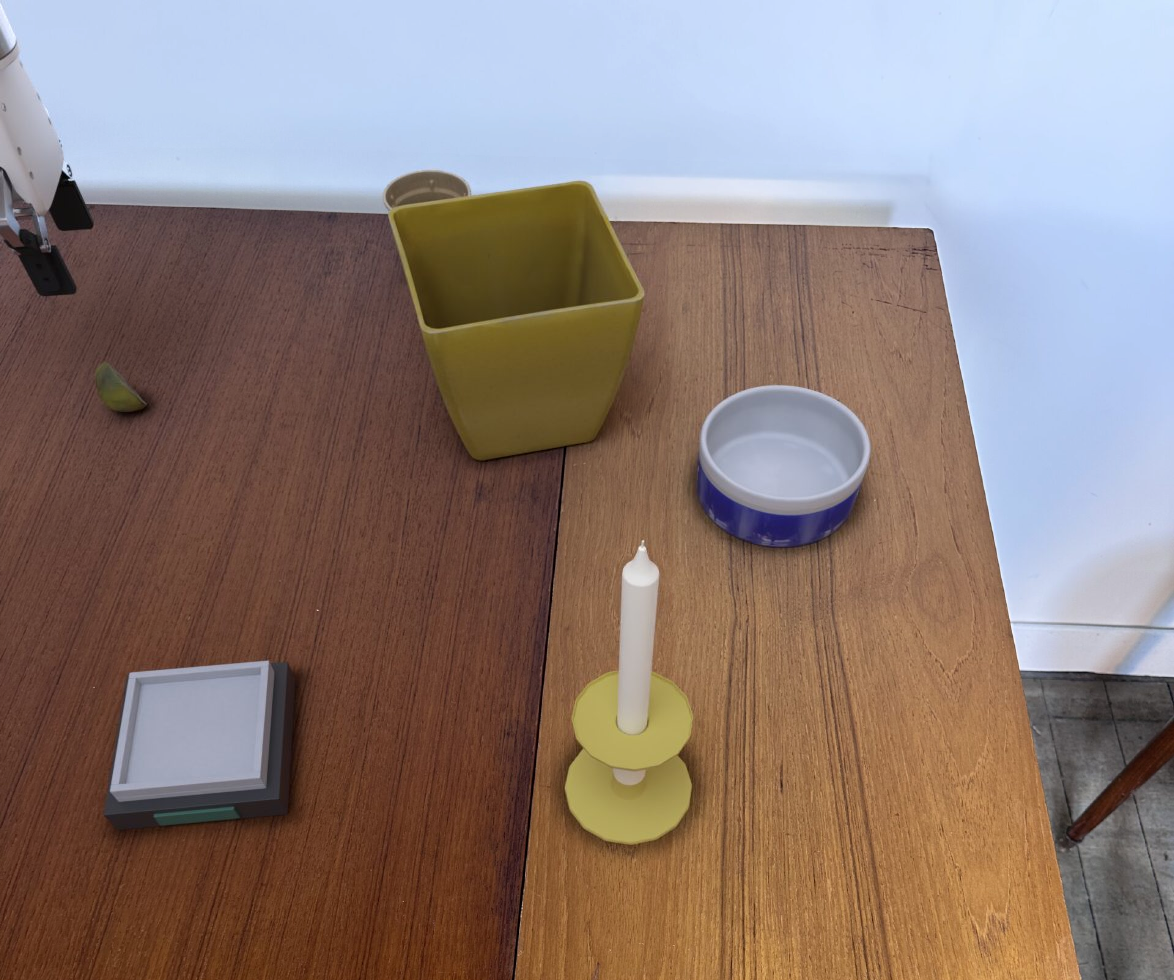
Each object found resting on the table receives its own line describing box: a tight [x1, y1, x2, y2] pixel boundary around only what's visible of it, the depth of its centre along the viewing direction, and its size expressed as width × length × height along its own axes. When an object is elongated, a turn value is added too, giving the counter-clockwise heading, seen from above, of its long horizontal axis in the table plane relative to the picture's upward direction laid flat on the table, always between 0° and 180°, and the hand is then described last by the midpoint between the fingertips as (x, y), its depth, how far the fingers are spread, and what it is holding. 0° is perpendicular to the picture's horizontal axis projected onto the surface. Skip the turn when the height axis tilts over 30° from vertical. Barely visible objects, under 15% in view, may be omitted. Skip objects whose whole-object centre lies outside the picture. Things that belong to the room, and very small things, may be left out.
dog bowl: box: [696, 384, 871, 548], centre depth 90 cm, size 15×15×6 cm
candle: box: [564, 539, 694, 846], centre depth 65 cm, size 10×10×27 cm
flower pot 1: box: [382, 169, 472, 212], centre depth 107 cm, size 9×9×9 cm
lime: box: [94, 361, 147, 413], centre depth 97 cm, size 4×5×5 cm
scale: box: [103, 660, 296, 831], centre depth 76 cm, size 13×13×4 cm
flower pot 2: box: [387, 180, 645, 461], centre depth 91 cm, size 19×19×17 cm
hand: (68, 260), depth 86 cm, fingers open, 9 cm apart
